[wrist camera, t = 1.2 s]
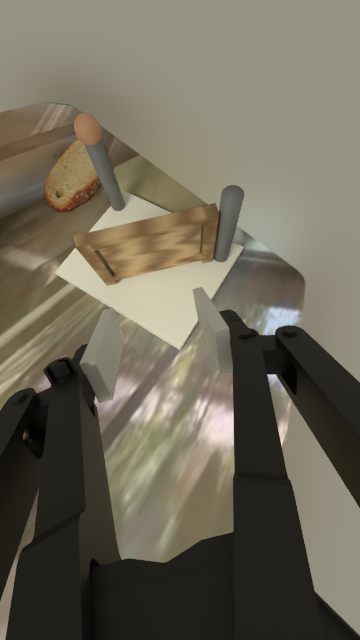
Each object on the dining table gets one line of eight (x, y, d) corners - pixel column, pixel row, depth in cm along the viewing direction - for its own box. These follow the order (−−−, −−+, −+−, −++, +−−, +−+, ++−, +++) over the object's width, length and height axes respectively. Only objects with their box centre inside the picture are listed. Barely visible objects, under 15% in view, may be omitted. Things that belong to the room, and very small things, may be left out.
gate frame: (56, 274, 47) (-26, 204, 30) (123, 194, 53) (88, 95, 35) (180, 350, 41) (170, 319, 24) (242, 250, 47) (272, 164, 29)
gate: (209, 252, 45) (215, 203, 33) (212, 261, 44) (219, 213, 33) (105, 276, 45) (74, 235, 33) (106, 285, 44) (75, 247, 32)
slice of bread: (95, 140, 59) (89, 124, 56) (126, 184, 54) (122, 170, 51) (31, 170, 57) (21, 156, 54) (57, 219, 52) (47, 207, 49)
